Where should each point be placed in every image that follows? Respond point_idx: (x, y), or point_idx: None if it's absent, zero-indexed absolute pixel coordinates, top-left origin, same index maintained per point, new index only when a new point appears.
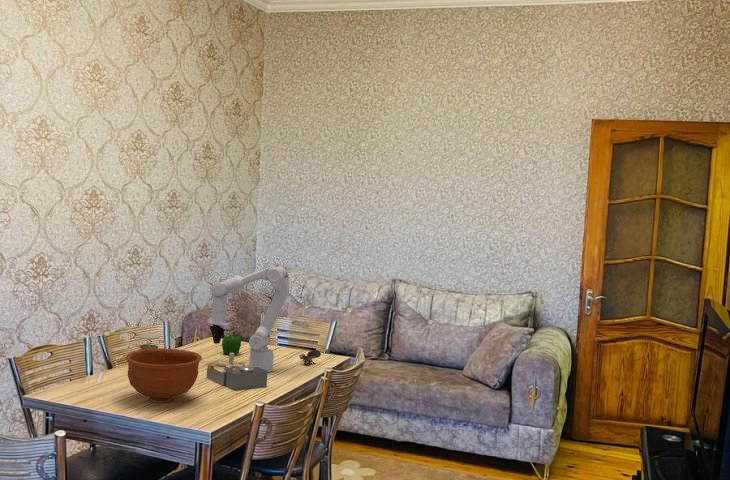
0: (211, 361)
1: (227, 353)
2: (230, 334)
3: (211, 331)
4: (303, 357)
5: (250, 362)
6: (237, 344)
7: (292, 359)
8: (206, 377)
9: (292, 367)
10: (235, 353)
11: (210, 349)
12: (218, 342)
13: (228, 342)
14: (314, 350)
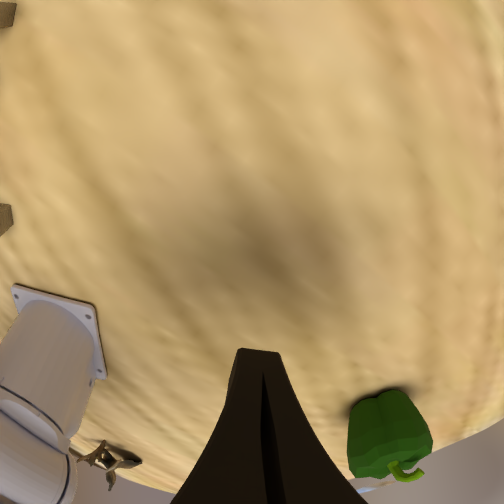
0: (357, 282)
1: (380, 397)
2: (402, 475)
3: (338, 483)
4: (98, 460)
5: (31, 329)
6: (348, 451)
7: (189, 462)
8: (15, 3)
9: (91, 419)
10: (350, 414)
11: (474, 379)
12: (230, 383)
13: (388, 441)
14: (109, 488)
